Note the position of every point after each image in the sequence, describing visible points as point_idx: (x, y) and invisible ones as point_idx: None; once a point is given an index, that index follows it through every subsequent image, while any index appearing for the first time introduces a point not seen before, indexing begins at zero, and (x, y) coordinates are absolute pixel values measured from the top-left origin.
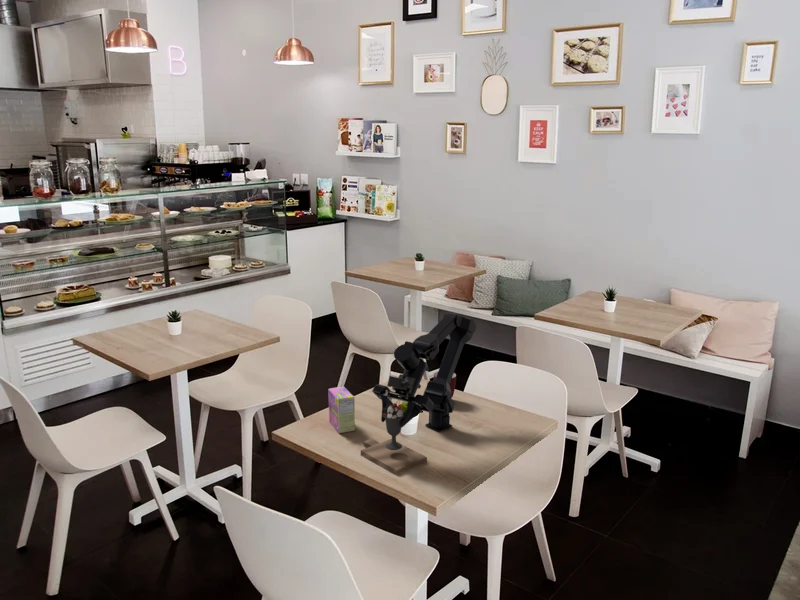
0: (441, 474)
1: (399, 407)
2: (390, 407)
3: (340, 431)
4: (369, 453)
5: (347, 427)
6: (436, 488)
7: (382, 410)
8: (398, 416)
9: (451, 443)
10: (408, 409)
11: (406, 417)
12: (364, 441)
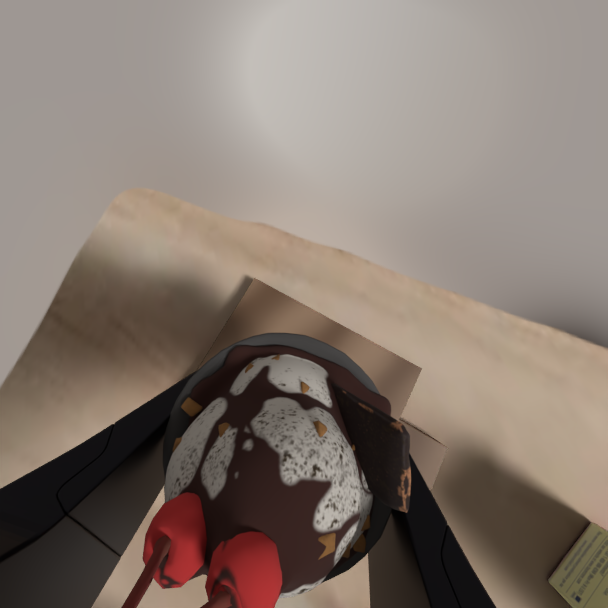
0: (129, 332)
1: (164, 511)
2: (306, 463)
3: (595, 532)
4: (380, 356)
5: (592, 571)
6: (134, 253)
7: (430, 500)
8: (212, 401)
9: (118, 601)
10: (33, 509)
11: (132, 412)
12: (445, 449)
